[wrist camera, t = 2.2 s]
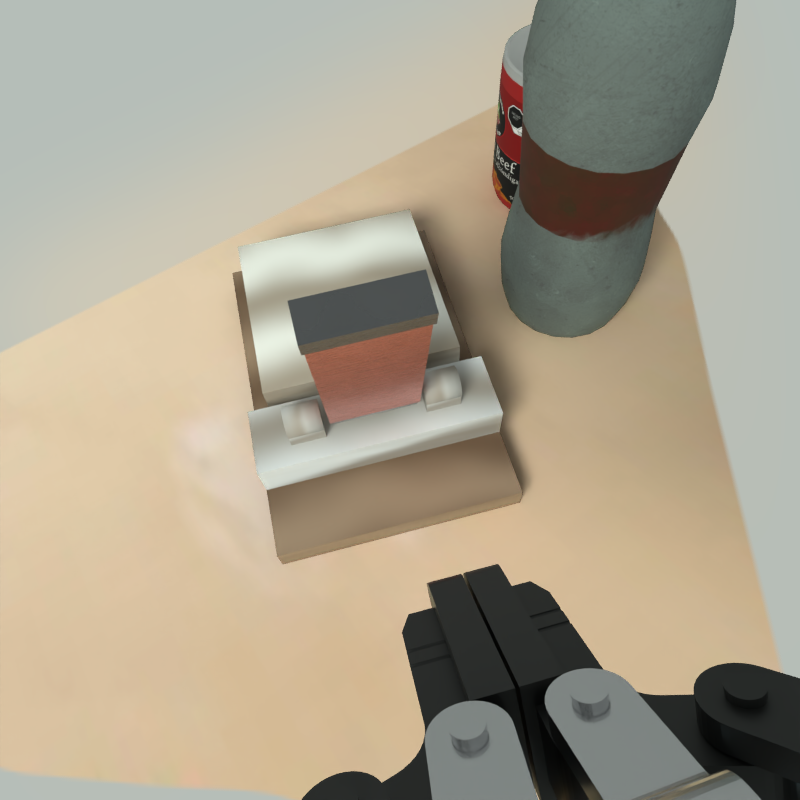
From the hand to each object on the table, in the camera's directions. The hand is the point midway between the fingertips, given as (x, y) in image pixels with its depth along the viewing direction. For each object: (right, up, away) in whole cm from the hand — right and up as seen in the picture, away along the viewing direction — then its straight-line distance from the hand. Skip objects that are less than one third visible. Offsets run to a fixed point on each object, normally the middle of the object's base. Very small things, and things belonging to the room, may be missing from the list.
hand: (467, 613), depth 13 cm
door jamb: (-4, +5, +29) cm, 30 cm away
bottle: (+10, +12, +32) cm, 36 cm away
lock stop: (-3, +4, +23) cm, 23 cm away
